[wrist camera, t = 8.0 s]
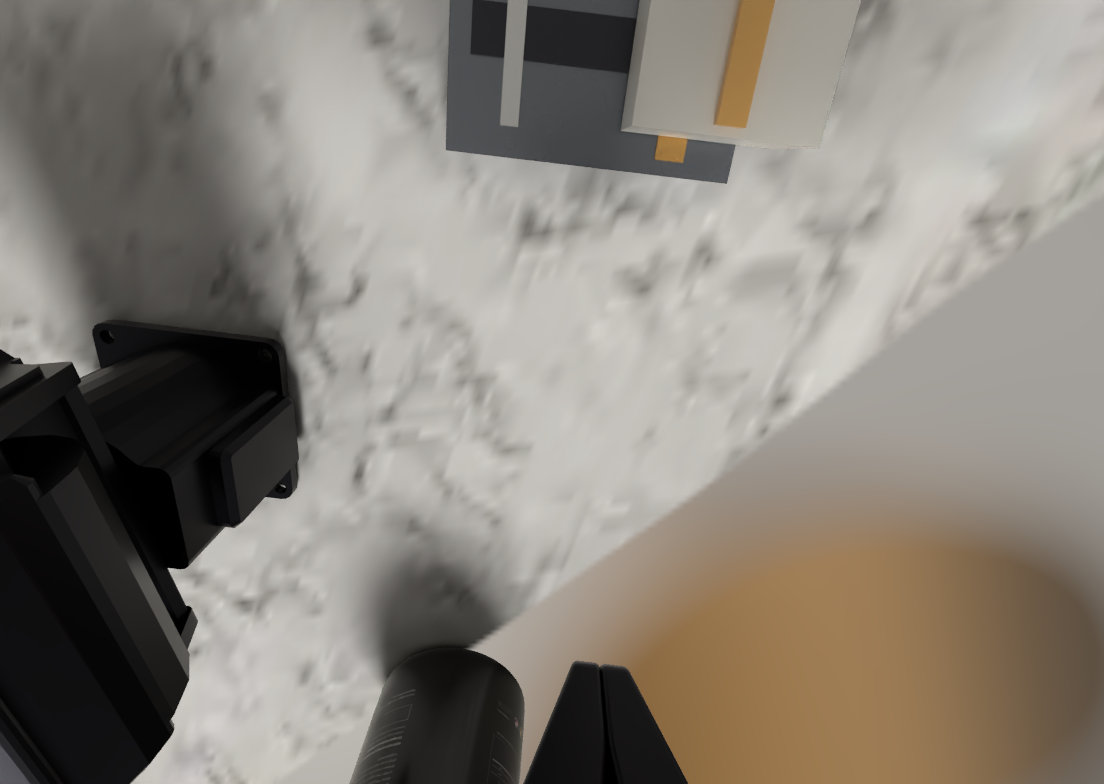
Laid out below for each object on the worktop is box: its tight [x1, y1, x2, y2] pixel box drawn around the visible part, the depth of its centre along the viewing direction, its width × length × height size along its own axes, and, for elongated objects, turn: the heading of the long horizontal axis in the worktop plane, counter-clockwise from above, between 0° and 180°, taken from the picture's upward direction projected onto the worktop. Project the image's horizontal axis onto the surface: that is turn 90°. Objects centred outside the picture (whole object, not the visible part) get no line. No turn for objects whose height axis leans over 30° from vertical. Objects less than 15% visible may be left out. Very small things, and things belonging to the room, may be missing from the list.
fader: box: [621, 0, 861, 149], centre depth 12 cm, size 4×4×4 cm
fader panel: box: [446, 0, 735, 184], centre depth 15 cm, size 8×6×1 cm
